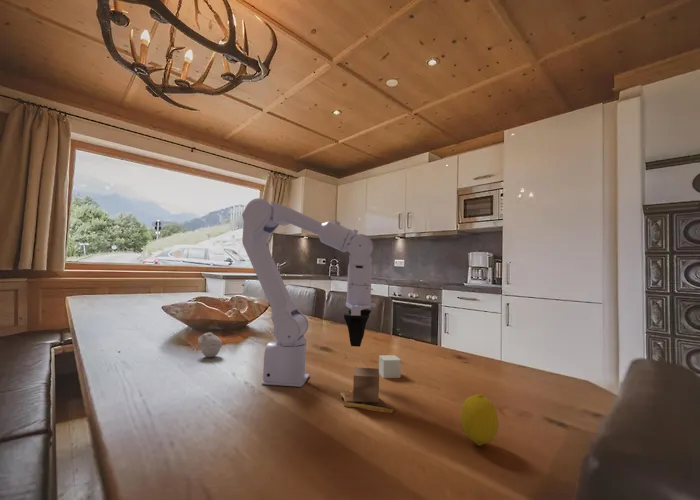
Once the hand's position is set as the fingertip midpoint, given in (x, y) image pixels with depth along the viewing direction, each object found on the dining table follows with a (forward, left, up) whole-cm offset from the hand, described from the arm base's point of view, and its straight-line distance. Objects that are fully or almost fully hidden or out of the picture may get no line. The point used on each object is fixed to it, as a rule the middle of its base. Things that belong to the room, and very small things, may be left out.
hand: (357, 342), depth 77 cm
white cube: (+8, +9, -10) cm, 16 cm away
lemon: (+21, -23, -10) cm, 33 cm away
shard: (+3, -9, -11) cm, 14 cm away
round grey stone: (-44, +15, -10) cm, 47 cm away
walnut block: (+3, -10, -9) cm, 13 cm away
